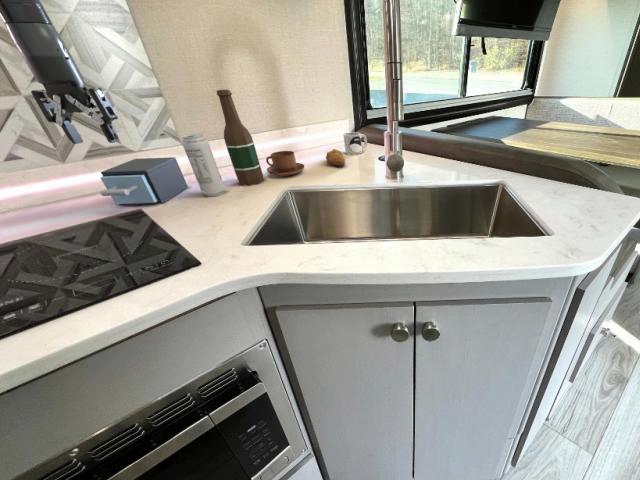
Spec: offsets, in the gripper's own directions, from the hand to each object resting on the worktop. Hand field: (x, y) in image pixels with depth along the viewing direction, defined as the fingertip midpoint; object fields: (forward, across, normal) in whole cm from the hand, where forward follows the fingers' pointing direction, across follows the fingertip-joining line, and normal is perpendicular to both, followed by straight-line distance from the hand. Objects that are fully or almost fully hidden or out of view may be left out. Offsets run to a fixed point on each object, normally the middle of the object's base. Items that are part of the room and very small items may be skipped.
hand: (96, 142), depth 73 cm
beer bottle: (+16, +24, +20) cm, 35 cm away
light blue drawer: (+15, 0, +5) cm, 16 cm away
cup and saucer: (+16, +32, +29) cm, 46 cm away
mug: (+16, +52, +57) cm, 79 cm away
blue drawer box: (+16, 0, +10) cm, 18 cm away
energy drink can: (+16, +17, +10) cm, 25 cm away
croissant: (+16, +47, +39) cm, 63 cm away
